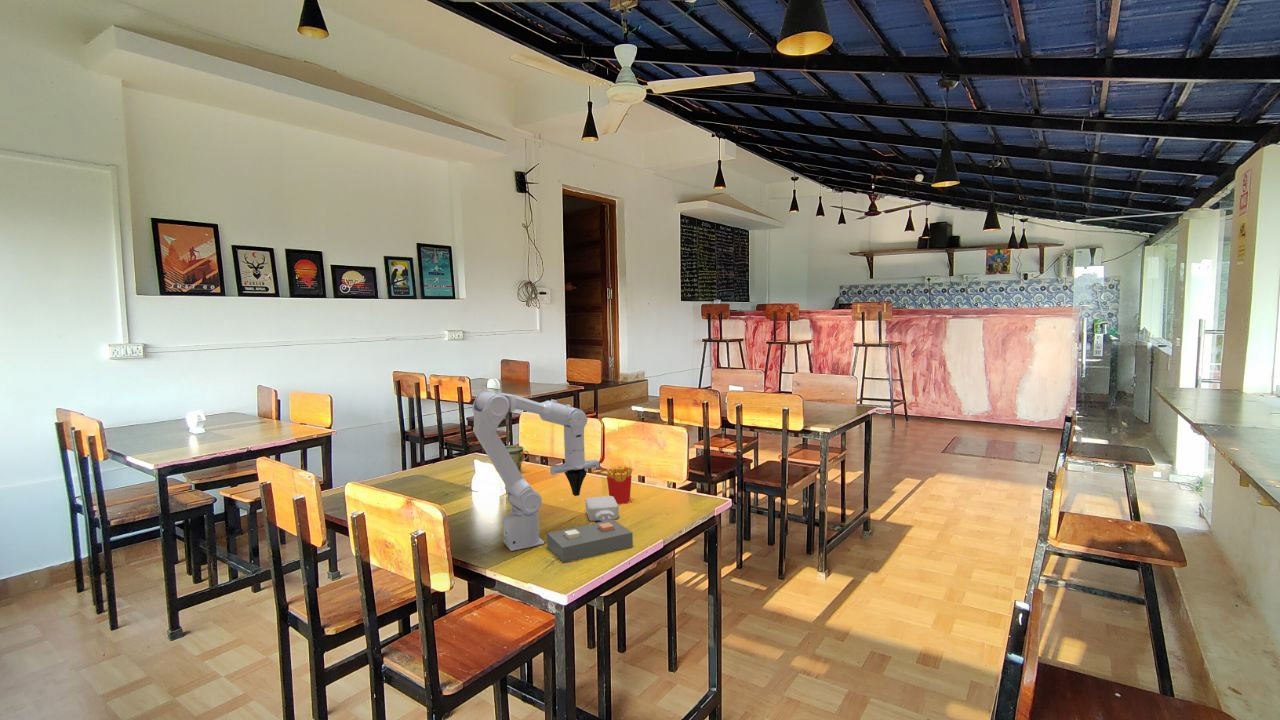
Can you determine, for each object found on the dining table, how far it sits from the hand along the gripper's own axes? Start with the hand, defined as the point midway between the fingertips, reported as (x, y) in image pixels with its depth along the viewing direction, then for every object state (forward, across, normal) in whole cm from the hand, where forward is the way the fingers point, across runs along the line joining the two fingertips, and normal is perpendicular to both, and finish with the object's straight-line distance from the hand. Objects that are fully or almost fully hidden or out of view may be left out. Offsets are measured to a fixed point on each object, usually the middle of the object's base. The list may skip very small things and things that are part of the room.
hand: (576, 494), depth 179 cm
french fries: (+11, +22, +16) cm, 29 cm away
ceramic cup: (+11, +2, +70) cm, 71 cm away
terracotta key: (+8, +3, -14) cm, 17 cm away
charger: (+11, +11, +5) cm, 16 cm away
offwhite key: (+8, -7, -14) cm, 18 cm away
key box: (+10, -2, -14) cm, 18 cm away
